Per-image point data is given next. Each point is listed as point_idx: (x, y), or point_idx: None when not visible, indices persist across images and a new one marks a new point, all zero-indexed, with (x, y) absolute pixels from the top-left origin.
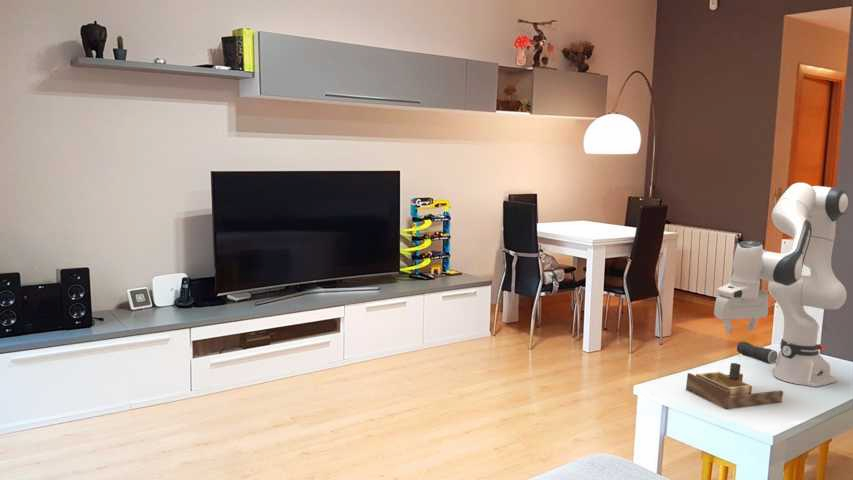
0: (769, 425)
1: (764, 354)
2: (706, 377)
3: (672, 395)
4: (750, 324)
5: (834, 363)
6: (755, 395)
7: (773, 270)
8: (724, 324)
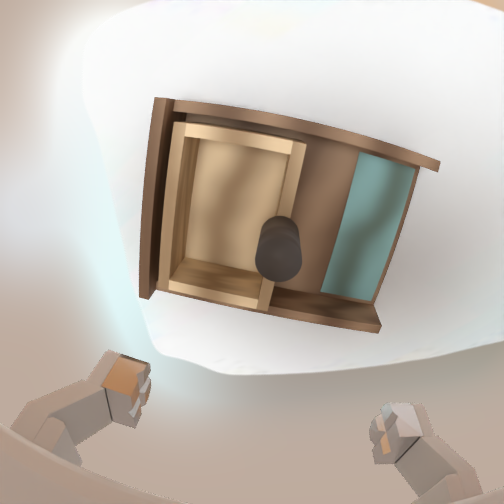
0: (204, 353)
1: None
2: (177, 172)
3: (125, 105)
4: (413, 452)
5: None
6: (264, 312)
7: None
8: (66, 389)
